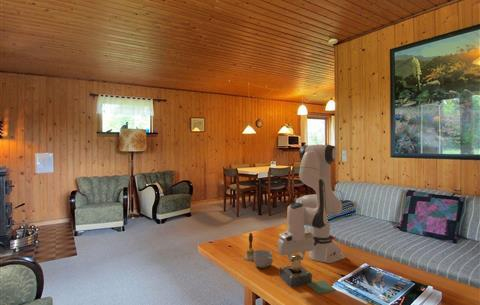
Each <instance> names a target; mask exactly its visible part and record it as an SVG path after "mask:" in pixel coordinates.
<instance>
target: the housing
mask: <svg viewBox="0 0 480 305" xmlns="http://www.w3.org/2000/svg"><path fill="white" fill-rule="evenodd" d="M279 277H280V279H282V281H284V282H285V283H286V284H287V286H288V287H289V288H291V289H292V288H297V287H302V286H308V285H307V283H312V282H313V274H312V273H311V272H310V271H309V270H307V269H306V268H305V267H303V266H302V265H301V273H296V274H293V273H292V272H291V265H288V266H281V267H279Z"/></svg>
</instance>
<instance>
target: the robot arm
mask: <svg viewBox="0 0 480 305" xmlns="http://www.w3.org/2000/svg"><path fill="white" fill-rule="evenodd" d="M336 150H337V149H336V147H335V146H334V145H331V144H312V145H311V144H306V145H302V146H301V147H300V148H299V151H298V152H299V153H298V155H299V159H300V161H301V162H300V164H299V172H298V177H299V180H300V181H301V183H303V184H304V185H306V186H308V187H310V188H312V189H313V190H314V191H315V194H306V195H305V194H304V195H303V196H302V198H301V199H300V202H292V203H290V204H289V206H288V207H287V208H288V209H287V224H288V226H287V229H286V230H285V231H283V232H281V233H279V234H278V238H279V239H278V242H277V253H278V254H280V255H281V256H287V257H288V262H290V263H291V262H293V258H292V254H298V253H301V254H300V256H301V261H304V257H305V254H306V252H309V254H308V257H309V259H311V260H313V261H316V262H321V263H326V264H331V263H335V262H338V261H341V260H345V259H346V255H345V254H344V253H342V250H341V247H340V246H339V244H337V243H336V242H334V241H333V240H336V236H334V235H331V234H330V233H331V224H330V223H329V221H328V216H335V215H337V216H338V215H339V214H340V213H341V212H342V210H343V203H342V201H341V200H340V199H339V198H338V197H337V195H335V193H334V192H333V191H334V190H333V189H332V180H331V179H332V178H331V176H332V172H331V171H332V170H331V169H332V168H331V164H332V163H334V162H335V160H336V158H337V151H336ZM305 226H308V227H311V232H305V229H306V227H305Z"/></svg>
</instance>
